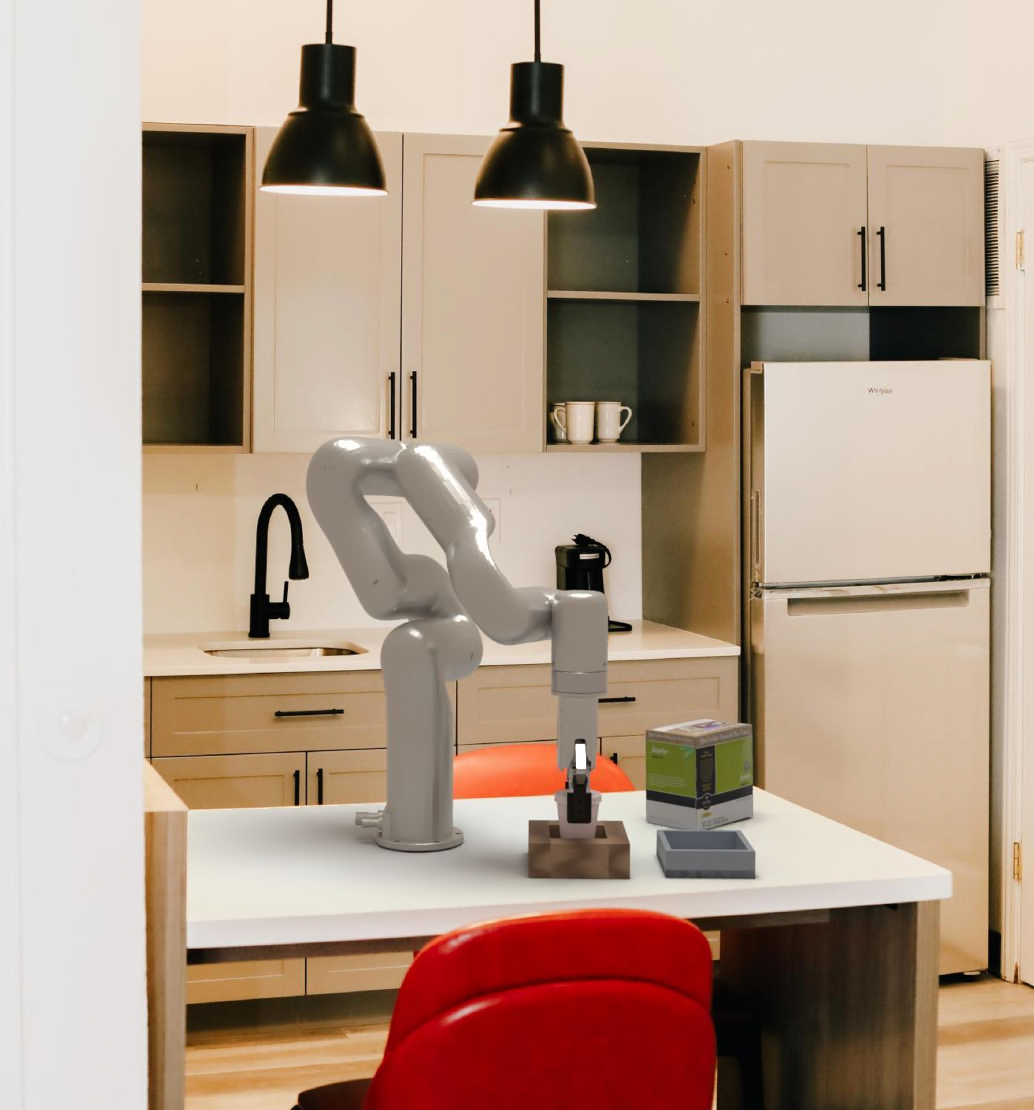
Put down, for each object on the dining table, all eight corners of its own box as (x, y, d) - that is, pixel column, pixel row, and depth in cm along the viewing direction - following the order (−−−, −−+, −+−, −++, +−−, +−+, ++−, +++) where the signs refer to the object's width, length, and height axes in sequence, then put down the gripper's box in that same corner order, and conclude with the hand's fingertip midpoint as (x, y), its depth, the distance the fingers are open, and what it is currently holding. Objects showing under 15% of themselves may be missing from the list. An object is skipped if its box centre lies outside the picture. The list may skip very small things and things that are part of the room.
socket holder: (529, 877, 174) (529, 843, 174) (528, 852, 187) (528, 820, 187) (629, 878, 174) (630, 844, 174) (621, 853, 187) (622, 820, 187)
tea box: (702, 807, 216) (703, 716, 216) (754, 818, 209) (756, 723, 209) (643, 822, 205) (644, 726, 205) (696, 834, 198) (697, 734, 198)
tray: (665, 877, 174) (665, 850, 174) (656, 854, 186) (656, 829, 186) (755, 878, 174) (755, 851, 174) (740, 855, 186) (740, 830, 186)
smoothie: (597, 872, 176) (598, 766, 176) (549, 869, 178) (550, 764, 177) (604, 860, 183) (605, 757, 182) (557, 857, 184) (558, 755, 184)
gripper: (549, 675, 188) (548, 802, 189) (552, 691, 171) (551, 832, 171) (603, 675, 188) (601, 803, 189) (611, 692, 171) (610, 832, 171)
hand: (577, 815), depth 180 cm, fingers closed on smoothie, 6 cm apart
